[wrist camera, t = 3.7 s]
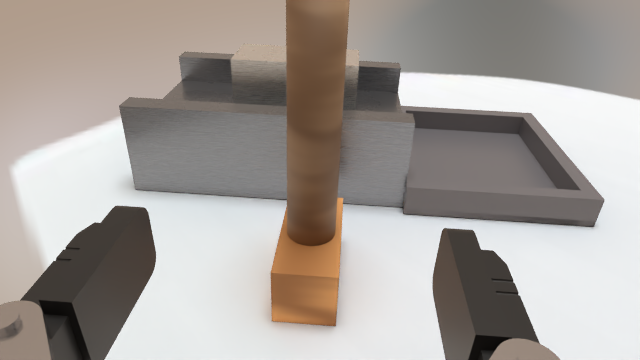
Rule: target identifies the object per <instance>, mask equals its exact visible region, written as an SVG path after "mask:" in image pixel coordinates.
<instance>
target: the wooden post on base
mask: <svg viewBox="0 0 640 360" xmlns="http://www.w3.org/2000/svg"><path fill="white" fill-rule="evenodd" d="M348 17H349V0H286V82H287V207H286V212H285V216H284V220H283V224H282V228H281V232H280V236H279V241H278V245H277V249H276V253H275V257H274V261H273V266H272V270H271V300H272V321H277V322H289V323H302V324H315V325H327V326H336V312H337V298H338V284H339V267H340V248H341V229H342V211H343V198H337V197H338V180H339V164H340V148H341V132H342V115H343V99H344V83H345V67H346V50H347V34H348Z"/></svg>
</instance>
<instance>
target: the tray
mask: <svg viewBox="0 0 640 360" xmlns="http://www.w3.org/2000/svg"><path fill="white" fill-rule="evenodd" d="M401 110H402V113H409V114H413V117H414V121H415V128H414V135H413V141H412V148H411V155H410V162H409V168H408V175H407V182H406V189H405V195H404V202H403V213H404V214H415V215H430V216H445V217H460V218H475V219H489V220H504V221H519V222H534V223H549V224H564V225H578V226H593V227H594V225H595V222H596V220H597V218H598V215H599V213H600V210H601V208H602V205H603V203H604V199H603V198H602V196H601V195H600V194H599V193H598V192H597V190H596V189H595V188H594V187H593V186H592V185H591V183H590V182H589V181H588V180H587V179H586V177H585V176H584V175H583V174H582V173H581V172H580V170H579V169H578V168H577V167H576V166H575V164H574V163H573V162H572V161H571V160H570V159H569V157H568V156H567V155H566V154H565V153H564V151H563V150H562V149H561V148H560V147H559V146H558V144H557V143H556V142H555V141H554V140H553V138H552V137H551V136H550V135H549V134H548V133H547V131H546V130H545V129H544V128H543V127H542V125H541V124H540V123H539V122H538V121H537V120H536V118H535V117H534V116H533V115H532V114H531V113H517V112H499V111H482V110H464V109H447V108H429V107H412V106H401Z"/></svg>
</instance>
